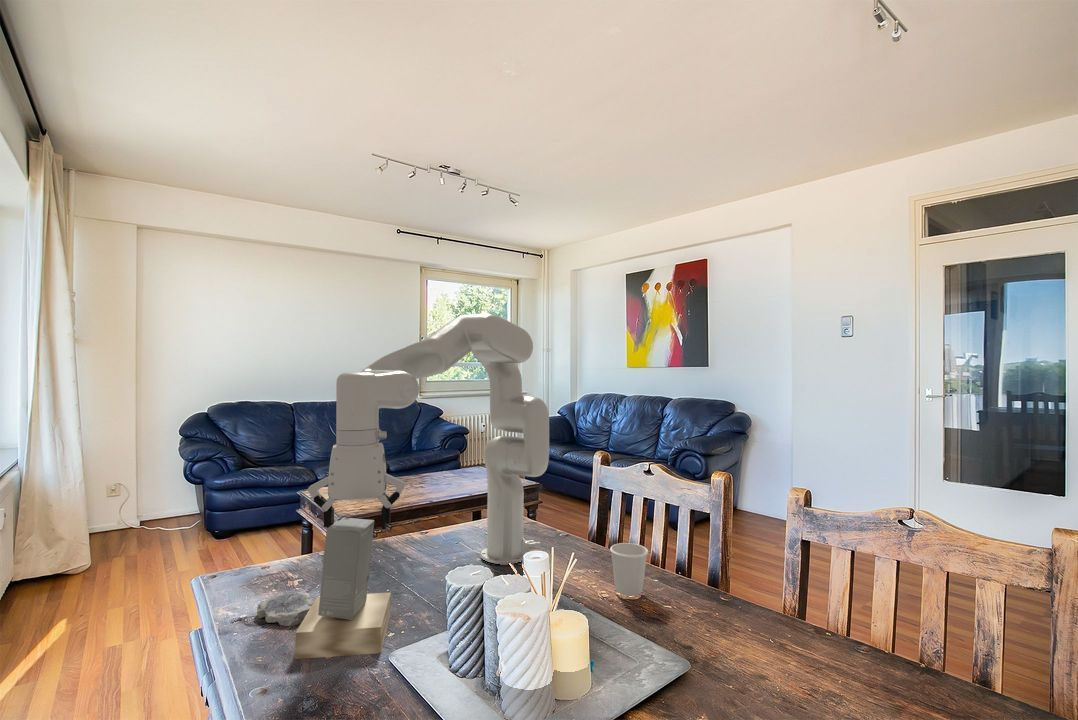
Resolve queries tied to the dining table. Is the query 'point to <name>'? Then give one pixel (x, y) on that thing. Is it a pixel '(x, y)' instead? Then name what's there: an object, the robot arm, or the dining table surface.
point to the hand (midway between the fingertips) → (357, 528)
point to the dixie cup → (628, 567)
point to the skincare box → (346, 567)
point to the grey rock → (285, 608)
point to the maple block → (344, 630)
